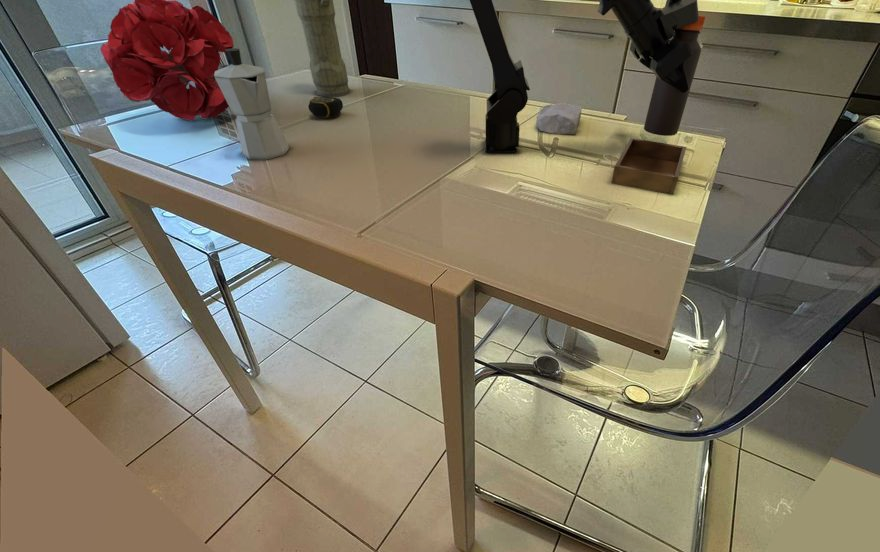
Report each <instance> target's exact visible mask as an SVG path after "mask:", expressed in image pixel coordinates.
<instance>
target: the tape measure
mask: <svg viewBox="0 0 880 552" xmlns="http://www.w3.org/2000/svg"><path fill="white" fill-rule="evenodd" d="M343 108H344V104H343V100H342V99H341V98H338V97H326V96H314V97H313V98H311V99H309V103H308V110H309V111H310V112H311V113H312V115H313V116H314V117H318V118H323V119H330V118H331V117H335V116H338V115H340V114H341V111H342V110H343Z"/></svg>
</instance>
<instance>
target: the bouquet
mask: <svg viewBox="0 0 880 552" xmlns="http://www.w3.org/2000/svg"><path fill="white" fill-rule="evenodd" d="M109 28H110V31H109V33H108V34H107V41H106V42H105V43H102V45H101V47H100V48H99V51H100V53H101V54H102V56H103V59H104V61H105V63H106V64H107V66H108V67H109V69H110V70H111V72H112V78H113V80H114V83H115V84H116V86H117V88H119V91H120V93H122V95H123V96H124V97H126V99H128V100H129V101H132V102H136V103H140V102H147V101H151V102H152V103H153V104H154V105H155V106H156V107H157V108H158V109H160V110H161V111H163V112H165V113H169V114H170V115H172V116H173V117H174V118H178V119H181V120H186V121H191V122H193V121H195V119H196V118H197V117H198V116H199V117H200V119H201V120H203V119H206V120H208V119H212V118H217V117H218V116H220V115H221V114H222V113H223V112H226V110H227V109H229V108H230V107H229V105H228V103H227V101H226V99H225V97H224V95H223V93H222V91H221V89H220V87H219V85H218V83H217V81H216V79H215V77H214V74H215V71H217V70H219V68H220V65H221V54H220V53H226V51H225V50H226V49H232V48H234V46H235V44H234V39H233V37H232V36H231V33H230V32H229V31H228V30H227V29H226V27H225V26H224V25H223V23H222V22H221V21H219V20H218V19H217V18H216V17H215V15H213V14H212V13H211V12H210V11H208V10H206V9H204V7H202V6H200V5H195V6H193V7H191V8H188V7H186V6H184V4H183V3H181V2H179V1H178V0H132V3H127V5H125V6H122V7H120V8H118V12H117V14H116V15H115V16H114V17H113V18H112V20H111V23H110V26H109ZM164 48H165V49H166V50H162V49H164ZM190 82H193V83H194V86H193V85H192V84H191V83H190Z"/></svg>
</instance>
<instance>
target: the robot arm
mask: <svg viewBox="0 0 880 552" xmlns="http://www.w3.org/2000/svg"><path fill="white" fill-rule="evenodd" d="M469 2H470V6H471V8H472V11H473V14H474V17H475V20H476V23H477V26H478V29H479V31H480V34H481V37H482V41H483V43H484V46H485V49H486V52H487V55H488V58H489V61H490V65H491V69H492V75H493V82H494V86H495V90H494V92H492V94H491V95H489V96H488V98H487V99H486V113H485V139H484V152H485V153H487V154H516V153H518V148H519V146H520V131H521V130H520V128H521V127H520V123H519V122H518V115H519V113H520V112H521V111H523V110H524V109H525V108H526V105H527V103H528V101H529V95H528V92H529V91H530V90H531V88H530V84H529V80H528V79H527V78H526V76H525V70H524V66H523V62H522V60H521V59H519V60H518V61H516V62H515V61H514V60H513V58H512V56H511V54H510V52H509V49H508V46H507V43H506V39H505V36H504V33H503V29H502V26H501V23H500V20H499V17H498V14H497V11H496V7H495V5H494V1H493V0H469ZM609 11H612V13H613V14H614V16H615V17H616V19H617V21H618V22H619V24H620V25H621V27H622V28H623V30H624V31H623V33H624V34H625V37H627V38H628V39H629V40H630V47H629V51H630V52H631V54H632V56H633V57H634V58H636V60H638V61H639V63H640V64H642V65H643V66H644V67H646V68H647V69H649V70H650V71H652V72H653V73H654V76H655V77H656V76H657V77H658V78H659V79H660V80H662V81H664V82H666V83H668V84H669V85H671V86H673V87H674V88H676V89H678V90H679V91H681V92H683V93H685V92H686V91H688V90H689V87H688V82H687V78H686V74H685V69H684V62H685V60H687V59H688V58H689V57H690V56H691V55H692V53H693V51H692V49H691V47H690V45H689V44H688V43H687V42H686V41H684V40H682V39H673V40H672V41H671V42H670V43H668V41H670V40H671V39H672V38H673V36H674V35H676V34H675V31H674V30H677V29H679V28H681V27H683V26H686V25H688V24H690V23H695V22H697V21H698V20H699V15H700V14H699V5H698V0H666V1H665V4H664V6H663V7H662V9H661V8H657V7H656V6H654V4H653V2H652V0H599V3H598V8H597V12H598V14H600V15H601V16H605V15H606V14H607V13H608V12H609Z"/></svg>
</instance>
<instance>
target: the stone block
mask: <svg viewBox="0 0 880 552" xmlns="http://www.w3.org/2000/svg"><path fill="white" fill-rule="evenodd" d="M582 108H583V106H582V105H575V104H569V103H564V102H557V103H554V104H547V105H544V106H543V107H542V108H541V109H540V110H539V112H538V114H537V115H536V126H537V128H538V129H539V131H541V132H545V133H549V134H556V135H557V134H560V135H576V134H577V131H578V128H579V124H580V120H581V117H582Z"/></svg>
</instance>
